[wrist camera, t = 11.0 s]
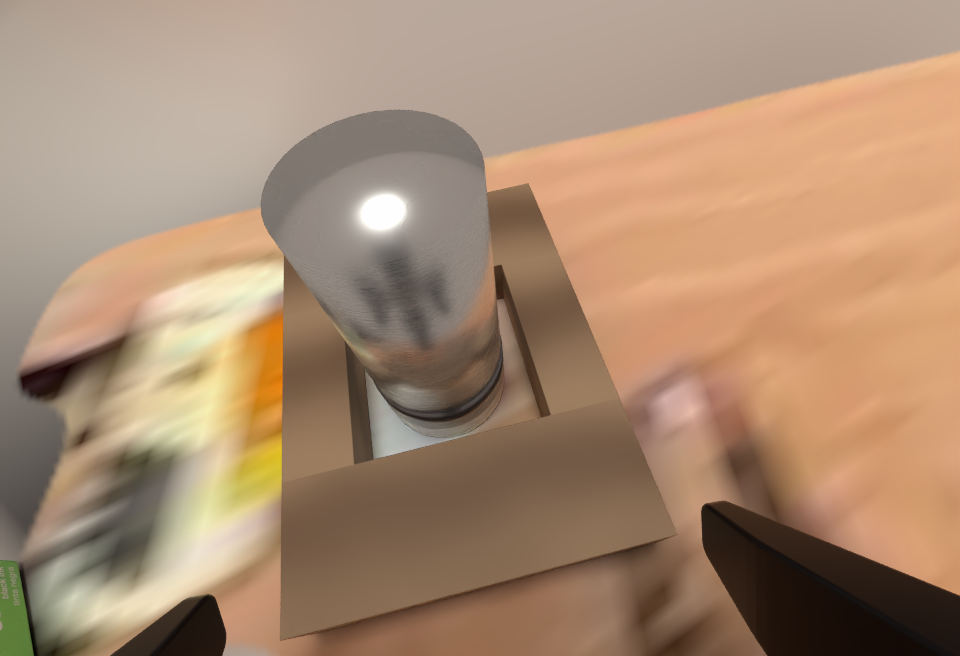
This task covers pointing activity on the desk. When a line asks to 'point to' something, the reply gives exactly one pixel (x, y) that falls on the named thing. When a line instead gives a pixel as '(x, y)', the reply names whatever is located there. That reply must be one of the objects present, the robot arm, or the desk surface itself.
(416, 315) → the chrome banded cylinder
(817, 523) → the desk surface
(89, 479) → the desk surface
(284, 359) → the brown picture frame
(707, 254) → the desk surface
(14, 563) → the ink box
